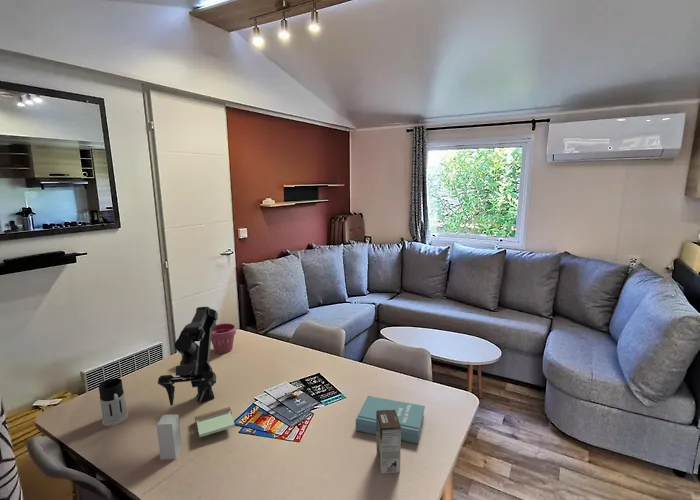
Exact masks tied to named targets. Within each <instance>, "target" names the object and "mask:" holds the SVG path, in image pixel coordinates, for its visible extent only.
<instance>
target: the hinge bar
mask: <svg viewBox="0 0 700 500" xmlns="http://www.w3.org/2000/svg"><path fill="white" fill-rule="evenodd" d="M228 411H230V412H231V415H232V416H233V413H232V409H231V407H230V406H227V407H224V408H221V409H217V410H214V411H210V412H206V413H202V414H199V415H195V416H194V423H195V424H194V425H195V429H198V426H197V420H200V419H203V418H207V417H210V416H214V415H217V414H221V413H224V412H228Z"/></svg>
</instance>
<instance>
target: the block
mask: <svg viewBox="0 0 700 500" xmlns="http://www.w3.org/2000/svg"><path fill="white" fill-rule="evenodd" d="M155 425H156V433H157V439H158V440H157V441H158V448H159V456H160V457H159V458H160V461H161V460H177V459H178V456H180V453H181V451H182V449H183V443H182V435H181V425H180V416H179V414H163V415H161V417H160V418H159V420H158V421H157V423H156V424H155Z"/></svg>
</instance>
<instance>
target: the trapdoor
mask: <svg viewBox="0 0 700 500" xmlns="http://www.w3.org/2000/svg"><path fill="white" fill-rule="evenodd" d="M231 412H232V411H231ZM231 412H230V411H228V412H224V413H221V414H217V415H214V416H210V417H207V418H203V419H200V420H197V426H198V428H197V431H198V438H202V437H206V436H209V435H212V434H215V433H218V432H222V431H225V430H228V429H229V430H230V429H232V428H235V427H236V425H235V422H234V418H233V414H232V415H231Z"/></svg>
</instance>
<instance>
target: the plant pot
mask: <svg viewBox="0 0 700 500" xmlns="http://www.w3.org/2000/svg"><path fill="white" fill-rule="evenodd" d="M236 328H237V327H236V325H235V324H233V323H228V322H227V323H219V324H216V326H215V327H214V328H213V330H212V333H211V344H212V347H213V349H214V352H215V354H220V355H221V354H227V353H229V352H231V351H232V350H233V347H234V342H235V341H234V340H235V339H234V338H235V335H236V333H237V329H236Z"/></svg>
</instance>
